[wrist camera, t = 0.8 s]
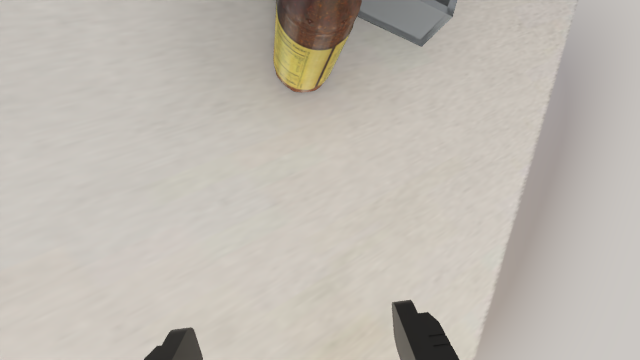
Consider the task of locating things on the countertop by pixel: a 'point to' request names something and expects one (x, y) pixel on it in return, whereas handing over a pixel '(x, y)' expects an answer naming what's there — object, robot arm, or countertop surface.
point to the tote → (408, 16)
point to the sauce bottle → (310, 39)
